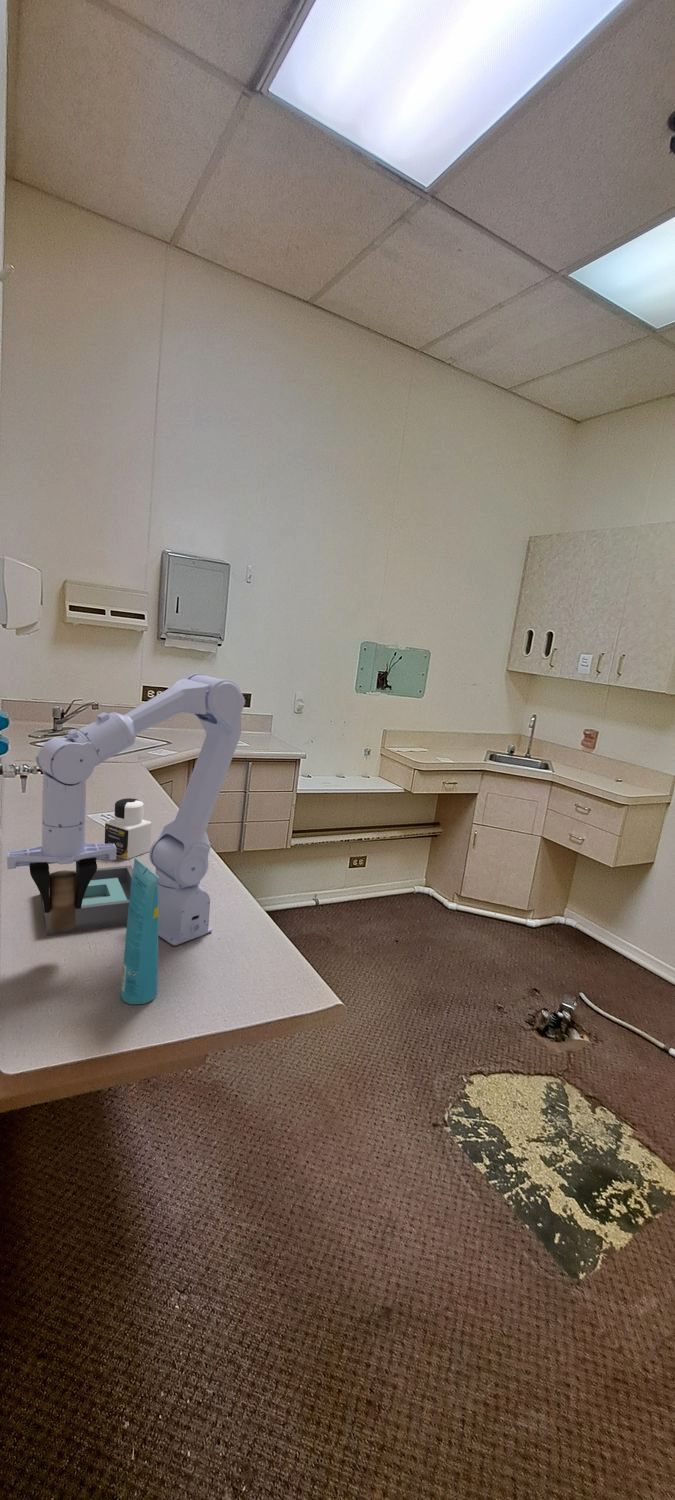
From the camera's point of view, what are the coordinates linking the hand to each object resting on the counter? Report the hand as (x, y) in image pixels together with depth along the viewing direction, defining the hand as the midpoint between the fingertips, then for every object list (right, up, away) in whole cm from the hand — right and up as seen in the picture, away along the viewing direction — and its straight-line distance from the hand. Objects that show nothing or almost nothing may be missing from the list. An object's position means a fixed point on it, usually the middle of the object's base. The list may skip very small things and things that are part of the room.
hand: (62, 907), depth 90 cm
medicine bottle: (-6, 0, +46) cm, 46 cm away
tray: (-3, -5, +19) cm, 20 cm away
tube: (+13, -11, -5) cm, 18 cm away
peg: (0, -3, 0) cm, 3 cm away
